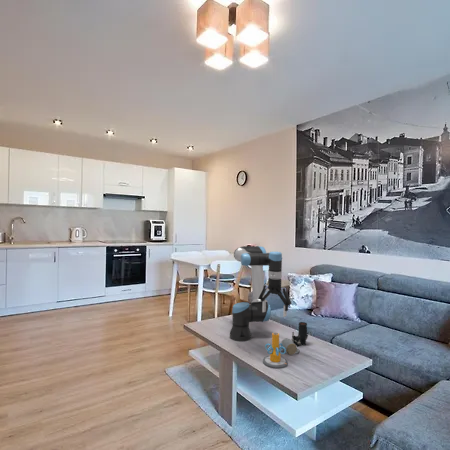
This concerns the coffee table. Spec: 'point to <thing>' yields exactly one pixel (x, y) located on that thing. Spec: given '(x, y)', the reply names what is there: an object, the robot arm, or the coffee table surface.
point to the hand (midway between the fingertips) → (274, 314)
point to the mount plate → (275, 363)
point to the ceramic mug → (289, 346)
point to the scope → (300, 335)
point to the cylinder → (275, 348)
